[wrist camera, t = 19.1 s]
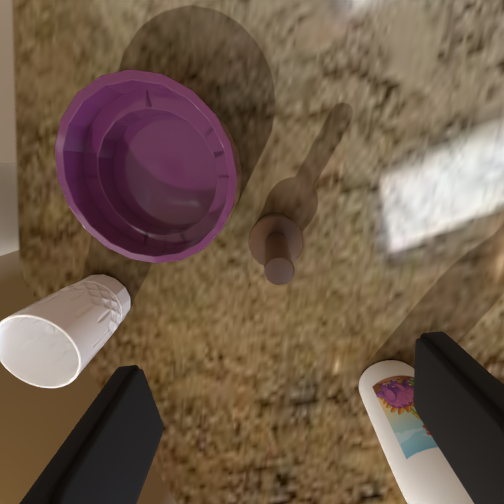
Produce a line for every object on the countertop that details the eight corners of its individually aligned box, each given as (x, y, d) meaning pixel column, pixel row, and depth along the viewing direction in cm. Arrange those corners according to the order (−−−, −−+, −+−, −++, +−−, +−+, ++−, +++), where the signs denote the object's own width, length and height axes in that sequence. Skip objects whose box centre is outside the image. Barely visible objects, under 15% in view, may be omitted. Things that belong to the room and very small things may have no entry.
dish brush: (254, 261, 29) (248, 308, 19) (246, 215, 27) (236, 241, 18) (301, 255, 29) (319, 299, 19) (296, 207, 27) (313, 229, 17)
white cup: (128, 267, 30) (65, 312, 21) (142, 324, 33) (91, 387, 23) (66, 270, 31) (-23, 316, 21) (84, 326, 33) (11, 389, 24)
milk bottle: (403, 409, 35) (567, 699, 16) (348, 396, 35) (448, 674, 16) (428, 365, 32) (658, 647, 13) (369, 352, 32) (518, 617, 13)
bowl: (123, 254, 30) (93, 272, 24) (74, 108, 25) (24, 92, 20) (253, 235, 28) (250, 250, 23) (226, 76, 23) (214, 49, 18)
